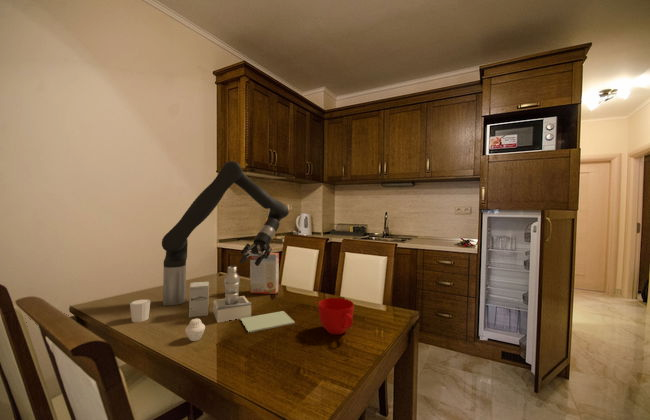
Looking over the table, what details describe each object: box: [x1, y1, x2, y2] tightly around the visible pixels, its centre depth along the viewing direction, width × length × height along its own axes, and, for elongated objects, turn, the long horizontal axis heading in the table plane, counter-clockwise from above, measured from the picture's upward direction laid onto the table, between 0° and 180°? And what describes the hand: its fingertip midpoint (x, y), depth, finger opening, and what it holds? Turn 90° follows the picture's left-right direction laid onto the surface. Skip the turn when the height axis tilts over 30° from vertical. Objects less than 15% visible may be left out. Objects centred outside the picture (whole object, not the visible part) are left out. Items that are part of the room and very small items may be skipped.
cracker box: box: [249, 252, 280, 295], centre depth 147 cm, size 14×6×21 cm, turn 84°
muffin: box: [184, 317, 206, 342], centre depth 94 cm, size 6×6×7 cm
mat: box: [239, 310, 296, 334], centre depth 109 cm, size 18×13×1 cm
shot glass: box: [129, 298, 151, 323], centre depth 110 cm, size 7×7×7 cm
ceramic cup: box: [318, 297, 355, 335], centre depth 100 cm, size 13×17×10 cm
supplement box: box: [188, 281, 210, 319], centre depth 117 cm, size 7×7×13 cm
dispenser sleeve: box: [212, 295, 252, 324], centre depth 116 cm, size 13×13×6 cm
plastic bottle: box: [223, 265, 241, 306], centre depth 116 cm, size 6×7×20 cm
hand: (248, 264), depth 125 cm, fingers open, 8 cm apart
